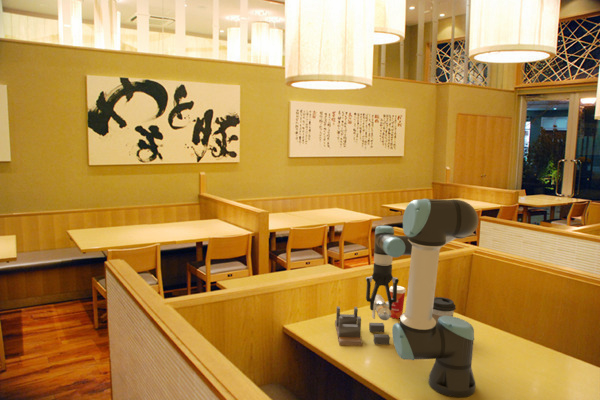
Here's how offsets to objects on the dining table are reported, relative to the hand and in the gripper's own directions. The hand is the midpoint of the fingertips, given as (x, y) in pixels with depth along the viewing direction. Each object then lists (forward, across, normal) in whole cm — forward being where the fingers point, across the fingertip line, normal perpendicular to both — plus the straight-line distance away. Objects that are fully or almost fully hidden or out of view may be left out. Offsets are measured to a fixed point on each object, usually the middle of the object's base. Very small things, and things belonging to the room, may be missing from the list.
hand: (380, 317), depth 200 cm
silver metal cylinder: (-2, 0, 0) cm, 2 cm away
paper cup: (+8, -12, -24) cm, 28 cm away
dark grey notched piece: (+8, +13, -3) cm, 16 cm away
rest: (+9, 0, -1) cm, 9 cm away
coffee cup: (+9, -27, -5) cm, 29 cm away
